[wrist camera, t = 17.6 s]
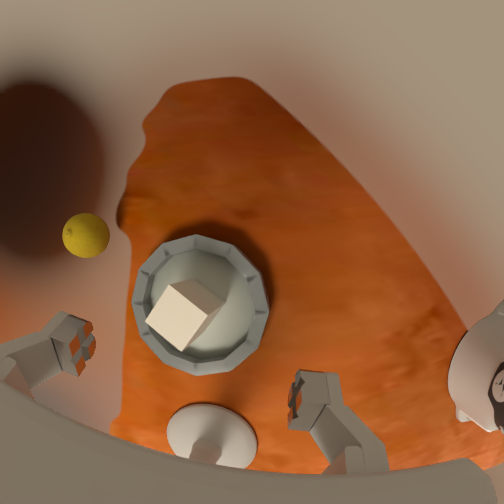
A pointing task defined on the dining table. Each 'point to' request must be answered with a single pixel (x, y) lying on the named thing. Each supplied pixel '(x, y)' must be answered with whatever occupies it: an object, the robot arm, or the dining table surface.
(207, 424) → the candlestick
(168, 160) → the dining table surface
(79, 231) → the lemon
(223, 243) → the dish
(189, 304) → the block
